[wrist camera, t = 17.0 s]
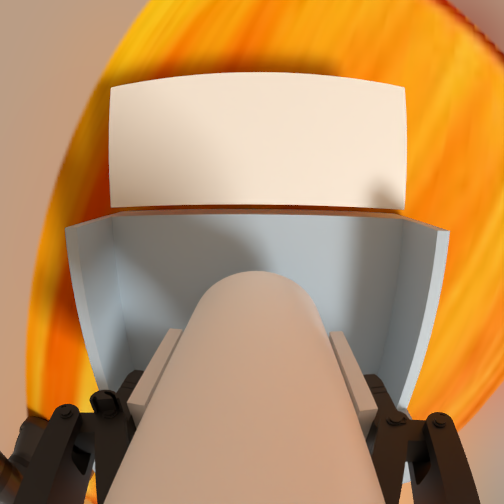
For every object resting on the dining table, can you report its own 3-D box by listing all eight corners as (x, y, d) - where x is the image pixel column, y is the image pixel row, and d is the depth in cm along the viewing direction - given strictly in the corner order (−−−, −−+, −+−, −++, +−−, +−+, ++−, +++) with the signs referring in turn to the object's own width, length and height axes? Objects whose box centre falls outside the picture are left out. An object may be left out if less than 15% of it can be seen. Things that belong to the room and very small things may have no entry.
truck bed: (132, 377, 29) (79, 468, 16) (107, 211, 25) (-4, 245, 11) (380, 381, 28) (427, 476, 15) (408, 214, 24) (518, 250, 11)
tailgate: (110, 207, 20) (110, 87, 17) (117, 205, 21) (117, 90, 18) (404, 209, 19) (404, 87, 17) (397, 207, 20) (398, 90, 18)
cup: (187, 270, 18) (17, 511, 2) (324, 269, 18) (468, 532, 2) (199, 379, 20) (138, 590, 4) (314, 380, 20) (356, 598, 4)
